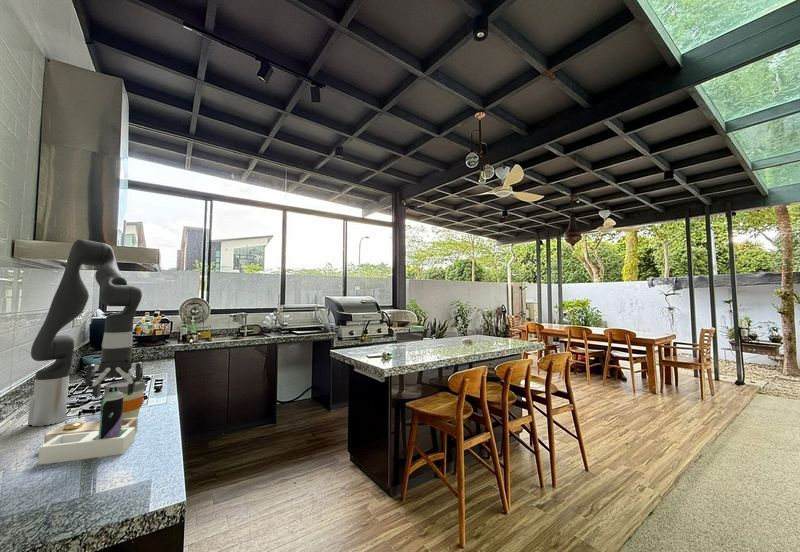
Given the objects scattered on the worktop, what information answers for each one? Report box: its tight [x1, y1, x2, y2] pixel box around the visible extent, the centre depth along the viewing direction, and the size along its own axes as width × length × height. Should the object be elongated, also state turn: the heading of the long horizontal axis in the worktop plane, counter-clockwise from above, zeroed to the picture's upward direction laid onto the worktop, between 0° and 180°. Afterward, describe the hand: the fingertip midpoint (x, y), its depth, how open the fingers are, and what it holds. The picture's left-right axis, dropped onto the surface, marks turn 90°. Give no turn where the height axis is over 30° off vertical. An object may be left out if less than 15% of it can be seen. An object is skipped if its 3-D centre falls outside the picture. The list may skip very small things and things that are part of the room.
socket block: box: [43, 416, 139, 445], centre depth 111 cm, size 22×9×5 cm, turn 111°
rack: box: [37, 427, 136, 466], centre depth 103 cm, size 20×9×5 cm, turn 111°
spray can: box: [98, 387, 124, 439], centre depth 105 cm, size 6×6×20 cm
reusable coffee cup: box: [103, 379, 146, 419], centre depth 128 cm, size 13×13×15 cm
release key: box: [64, 421, 83, 430], centre depth 109 cm, size 4×4×6 cm
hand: (113, 396), depth 106 cm, fingers open, 8 cm apart
